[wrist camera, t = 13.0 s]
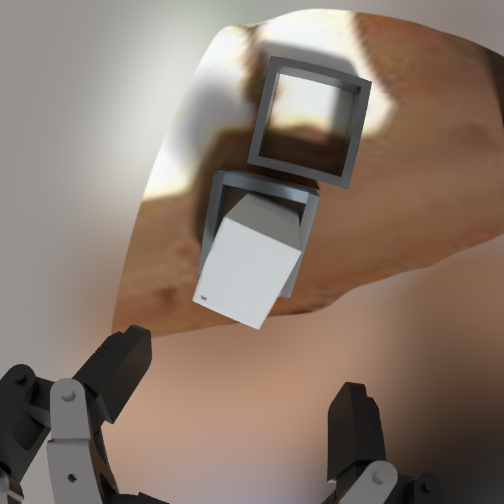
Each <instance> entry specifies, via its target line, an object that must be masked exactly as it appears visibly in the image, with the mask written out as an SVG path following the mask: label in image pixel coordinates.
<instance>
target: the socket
mask: <svg viewBox="0 0 504 504" xmlns="http://www.w3.org/2000/svg"><path fill="white" fill-rule="evenodd" d="M280 74H284V75H289V76H294V77H298V78H303V79H307V80H311V81H315V82H319V83H323V84H327V85H331V86H334V87H338V88H341V89H344V90H348V91H351V92H354V93H355V95H354V100H353V105H352V110H351V114H350V119H349V124H348V128H347V132H346V137H345V141H344V145H343V150H342V154H341V158H340V162H339V166H338V170H337V174H333V173H330V172H326V171H323V170H319V169H315V168H311V167H308V166H304V165H300V164H296V163H292V162H288V161H284V160H279V159H275V158H271V157H266V156H262V153H263V148H264V144H265V139H266V135H267V130H268V126H269V121H270V117H271V112H272V108H273V103H274V99H275V94H276V90H277V85H278V81H279V77H280ZM371 84H372V82H371V81H368V80H365V79H362V78H359V77H356V76H353V75H350V74H347V73H343V72H340V71H337V70H333V69H329V68H326V67H322V66H318V65H314V64H310V63H305V62H301V61H296V60H291V59H286V58H280V57H274V56H271V58H270V62H269V66H268V71H267V75H266V79H265V84H264V88H263V92H262V97H261V101H260V106H259V110H258V115H257V119H256V124H255V128H254V133H253V137H252V142H251V147H250V151H249V156H248V161H247V163H248V164H253V165H257V166H262V167H266V168H271V169H275V170H279V171H284V172H288V173H292V174H296V175H300V176H304V177H307V178H311V179H315V180H319V181H322V182H326V183H329V184H333V185H336V186H340V187H343V188H347V189H348V186H349V182H350V179H351V175H352V171H353V167H354V163H355V159H356V155H357V151H358V147H359V142H360V138H361V134H362V129H363V125H364V120H365V115H366V110H367V105H368V100H369V95H370V90H371Z"/></svg>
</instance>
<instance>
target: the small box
mask: <svg viewBox="0 0 504 504" xmlns="http://www.w3.org/2000/svg"><path fill="white" fill-rule="evenodd" d="M301 254H302V247H301V236H300V226H299V215H298V212H297V211H294V210H292V209H290V208H288V207H286V206H284V205H282V204H279V203H277V202H275V201H273V200H271V199H268V198H266V197H264V196H262V195H259V194H257V193H255V192H253V191H249V192H248V193H247V194H246V195H245V196H244V197H243V198H242V199H241V200H240V201H239V202H238V203H237V204H236V205H235V206H234V207H233V208H232V209H231V210H230V211H229V212H228V213H227V214H226V215H225V216H224V218H223V220H222V222H221V225H220V227H219V229H218V232H217V234H216V237H215V239H214V242H213V244H212V247H211V249H210V252H209V254H208V256H207V259H206V261H205V264H204V267H203V269H202V272H201V276H200V279H199V282H198V285H197V288H196V291H195V294H194V297H193V301H194V302H197V303H199V304H201V305H203V306H205V307H207V308H209V309H211V310H213V311H216V312H218V313H220V314H222V315H225V316H227V317H229V318H232V319H234V320H237V321H239V322H241V323H243V324H246V325H248V326H251V327H254V328H256V329H260V328H261V326H262V324H263V323H264V321H265V319H266V318H267V316H268V314H269V312H270V311H271V309H272V307H273V305H274V304H275V302H276V300H277V298H278V296H279V294H280V293H281V291H282V289H283V287H284V286H285V284H286V282H287V280H288V278H289V276H290V274H291V272H292V271H293V269H294V267H295V265H296V263H297V261H298V259H299V257H300V256H301Z"/></svg>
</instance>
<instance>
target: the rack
mask: <svg viewBox="0 0 504 504" xmlns="http://www.w3.org/2000/svg"><path fill="white" fill-rule="evenodd" d="M249 191H253V192H255V193H257V194H259V195H262V196H264V197H266V198H268V199H271V200H273V201H275V202H277V203H279V204H282V205H284V206H286V207H288V208H290V209H292V210H294V211H297V212H298V215H299V226H300V236H301V247H302V254H301V256H300V257H299V259H298V261H297V263H296V265H295V267H294V269H293V271H292V272H291V274H290V276H289V278H288V280H287V282H286V284H285V286H284V287H283V289H282V291H281V293H280V294H279V296H283V297H287V298H290V296H291V293H292V290H293V287H294V284H295V281H296V277H297V274H298V271H299V268H300V265H301V261H302V258H303V255H304V251H305V248H306V244H307V241H308V238H309V234H310V231H311V227H312V224H313V220H314V216H315V213H316V209H317V205H318V202H319V198H320V196H319V195H320V191H321V190H320V189H318V188H314V187H310V186H306V185H302V184H299V183H295V182H291V181H287V180H283V179H278V178H274V177H270V176H266V175H261V174H257V173H252V172H247V171H243V170H238V169H233V168H228V167H223V166H221V167H219V170H218V171H215V172H214V174H213V179H212V185H211V191H210V197H209V203H208V209H207V215H206V221H205V228H204V234H203V241H202V248H201V255H200V262H199V270H198V275H201V272H202V269H203V267H204V264H205V261H206V259H207V256H208V254H209V252H210V249H211V247H212V244H213V242H214V239H215V237H216V234H217V232H218V229H219V227H220V225H221V222H222V220H223V218H224V216H225V215H226V214H227V213H228V212H229V211H230V210H231V209H232V208H233V207H234V206H235V205H236V204H237V203H238V202H239V201H240V200H241V199H242V198H243V197H244V196H245V195H246V194H247V193H248V192H249Z"/></svg>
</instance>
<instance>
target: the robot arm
mask: <svg viewBox="0 0 504 504" xmlns="http://www.w3.org/2000/svg"><path fill="white" fill-rule="evenodd" d="M151 360H152V348H151V332H150V330H147V329H145V328H142V327H139V326H137V325H134V324H133V325H131V326H130V327H129V328H128V329H127V330H126V332H125V333H121V332H119V331H118V332H117V333H115V334H113V335H111V336H109V337H108V338H107V339H106V340H105V341H104V342H103V343H102V344H101V347H99V348H98V349H97V350H96V351H95V353H93V355H92V356H91V357H90V358H89V359H88V360H87V361H86V363H85V364H84V365H83V366H82V367H81V368H80V370H79V371H78V372H77V373H76V374H75V375H74V377H72V378H64V379H60V380H58V381H56V382H52V381H49V380H46V379H42V378H39V377H36V375H35V373H34V371H33V370H32V369H31V368H30V367H29V366H27V365H24V364H19V365H15V366H13V367H12V368H11V369H10V370H9V371H8V372H7V373H6V374H5V375H4V376H3V378H2V379H1V380H0V504H21V503H22V501H23V500H24V495H23V491H22V488H21V485H20V482H21V480H22V478H23V476H24V474H25V473H26V471H27V469H28V467H29V466H30V464H31V462H32V460H33V459H34V457H35V455H36V454H37V452H38V450H39V449H40V447H41V445H42V444H43V442H44V440H45V439H46V437H47V436H48V434H49V432H50V431H51V435H52V437H51V440H49V441H48V442H47V458H48V466H49V472H50V478H51V484H52V489H53V494H54V499H55V504H169V503H166V502H164V501H161V500H158V499H156V498H153V497H150V496H148V495H146V494H143V493H141V492H139V494H138V496H137V495H130V494H120V493H119V490H118V487H117V484H116V481H115V478H114V475H113V473H112V471H111V469H110V466H109V462H108V458H107V454H106V449H105V445H104V440H103V435H102V430H101V425H102V424H103V422H104V421H107V422H109V423H111V424H113V423H114V422H115V420H116V419H117V417H118V416H119V414H120V412H121V411H122V409H123V408H124V406H125V404H126V403H127V401H128V400H129V398H130V397H131V395H132V393H133V392H134V390H135V389H136V387H137V385H138V384H139V382H140V381H141V379H142V378H143V376H144V374H145V373H146V371H147V370H148V368H149V366H150V363H151ZM381 427H382V425H381V420H380V414H379V408H378V406H377V404H376V403H375V401H374V399H373V398H371V397H367V393H366V388H365V385H364V384H359V383H351V382H346V383H345V384H344V385H343V386H342V388H341V390H340V391H339V392H338V394H337V395H336V397H335V398H334V400H333V401H332V403H331V405H330V407H329V411H328V470H327V482H336V489H334V490H333V491H332V493H331V494H330V495H329V496H328V497H327V498H326V499H325V500H324V501H323V502H322V503H321V504H443V497H442V487H441V482H440V479H439V478H438V477H437V476H436V475H435V474H433V473H430V472H427V473H423V474H421V475H419V476H418V477H411V476H407V475H402V474H399V473H397V471H396V469H395V468H394V466H393V465H391V464H390V463H388V462H387V460H386V453H385V445H384V439H383V432H382V429H381Z"/></svg>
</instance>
